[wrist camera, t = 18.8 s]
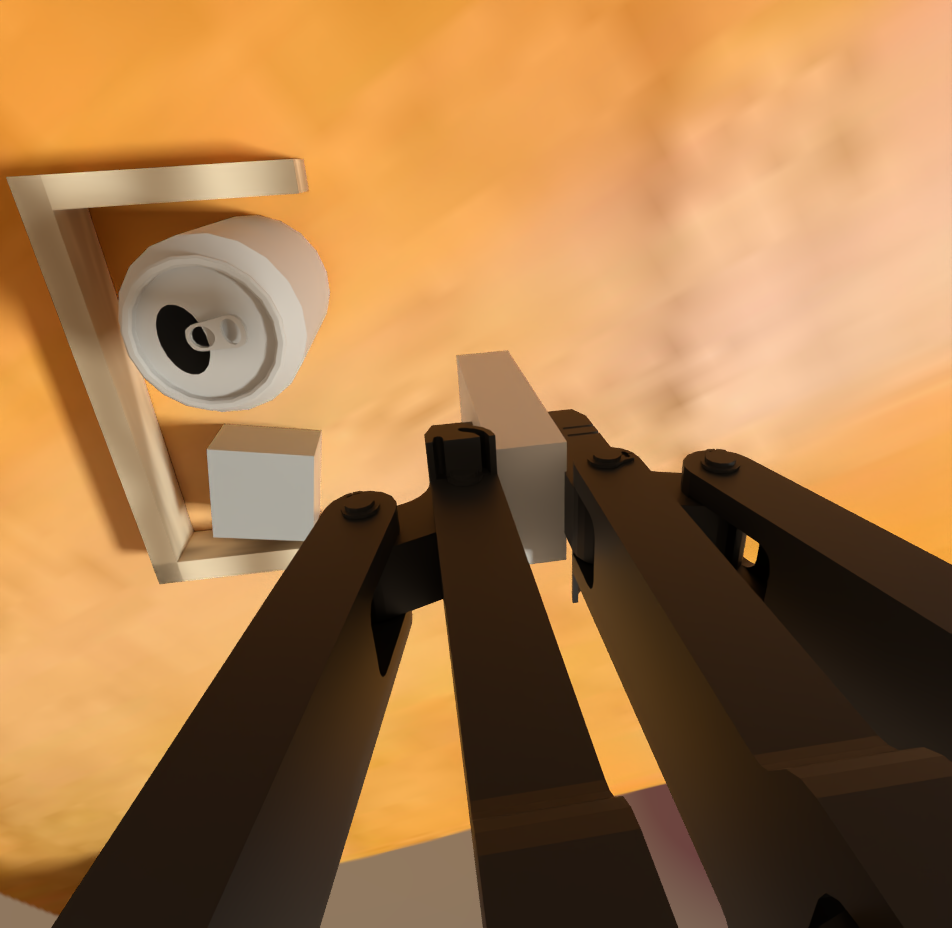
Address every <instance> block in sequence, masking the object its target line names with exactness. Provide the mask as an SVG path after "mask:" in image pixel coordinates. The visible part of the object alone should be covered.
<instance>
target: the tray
mask: <svg viewBox="0 0 952 928" xmlns="http://www.w3.org/2000/svg"><path fill="white" fill-rule="evenodd" d="M6 179H7V181H8V184H9V187H10V189H11V192H12V195H13V197H14V200H15V202H16V205H17V208H18V210H19V213H20V216H21V218H22V221H23V224H24V226H25V229H26V232H27V234H28V237H29V240H30V242H31V245H32V247H33V250H34V253H35V255H36V258H37V261H38V263H39V266H40V269H41V271H42V274H43V277H44V279H45V282H46V285H47V287H48V290H49V293H50V295H51V298H52V300H53V303H54V306H55V308H56V311H57V314H58V316H59V319H60V322H61V324H62V327H63V330H64V332H65V335H66V338H67V340H68V343H69V346H70V348H71V351H72V353H73V356H74V359H75V361H76V364H77V367H78V369H79V372H80V375H81V377H82V380H83V383H84V385H85V388H86V391H87V393H88V396H89V399H90V401H91V404H92V406H93V409H94V412H95V414H96V417H97V420H98V422H99V425H100V428H101V430H102V433H103V436H104V438H105V441H106V444H107V446H108V449H109V451H110V454H111V457H112V459H113V462H114V465H115V467H116V470H117V473H118V475H119V478H120V481H121V483H122V486H123V489H124V491H125V494H126V497H127V499H128V502H129V504H130V507H131V510H132V512H133V515H134V518H135V520H136V523H137V526H138V528H139V531H140V534H141V536H142V539H143V542H144V544H145V547H146V550H147V552H148V555H149V557H150V560H151V563H152V565H153V568H154V571H155V573H156V576H157V579H158V581H159V584H165V583H174V582H182V581H191V580H200V579H209V578H217V577H226V576H235V575H244V574H252V573H261V572H270V571H278V570H285V569H286V568H287V566H288V565H289V563H290V562H291V560H292V559H293V557H294V556H295V554H296V553H297V551H298V550H299V548H300V547H301V545H302V543H303V542H304V541H290V540H266V539H242V538H217V537H213V530H207V531H197V532H194V530H193V527H192V524H191V521H190V518H189V515H188V512H187V509H186V506H185V503H184V500H183V497H182V494H181V491H180V488H179V485H178V481H177V478H176V475H175V472H174V469H173V466H172V463H171V460H170V457H169V454H168V451H167V448H166V445H165V442H164V439H163V436H162V433H161V430H160V427H159V423H158V420H157V417H156V414H155V411H154V408H153V405H152V402H151V399H150V396H149V393H148V390H147V387H146V384H145V381H144V378H143V376H142V375H141V373H140V372H139V371H138V369H137V368H136V366H135V365H134V363H133V362H132V360H131V359H130V358H129V356H128V354H127V351H126V347H125V344H124V341H123V338H122V335H121V332H120V325H119V322H118V312H119V301H118V298H117V295H116V292H115V289H114V286H113V283H112V280H111V277H110V274H109V271H108V268H107V265H106V262H105V259H104V256H103V253H102V250H101V247H100V243H99V240H98V237H97V234H96V231H95V228H94V225H93V222H92V219H91V216H90V213H89V210H88V208H91V207H106V206H121V205H135V204H150V203H165V202H180V201H194V200H209V199H224V198H238V197H253V196H268V195H282V194H297V193H302V192H305V191H309V189H308V183H307V177H306V171H305V165H304V159H283V160H267V161H251V162H236V163H220V164H204V165H188V166H173V167H157V168H141V169H126V170H110V171H94V172H78V173H63V174H47V175H31V176H16V177H6Z"/></svg>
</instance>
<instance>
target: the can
mask: <svg viewBox="0 0 952 928" xmlns="http://www.w3.org/2000/svg"><path fill="white" fill-rule="evenodd" d="M329 296H330V290H329V283H328V277H327V271H326V269H325V267H324V265H323V263H322V261H321V259H320V257H319V255H318V253H317V251H316V250H315V249H314V248H313V246H312V245H311V244H310V243H309V242H308V241H307V240H306V239H305V238H304V237H303V235H302V234H301V233H299V232H297V231H296V230H294V229H293V228H291V227H289V226H288V225H286V224H285V223H283V222H281V221H279V220H275V219H271V218H267V217H264V216H260V215H249V216H235V217H231V218H228V219H225V220H222V221H219V222H216V223H213V224H209V225H206V226H203V227H200V228H197V229H194V230H190V231H187V232H184V233H181V234H178V235H175V236H173V237H170V238H168V239H166V240H163V241H161V242H159V243H157V244H154V245H152V246H150V247H148V248H147V249H146V250H145V251H144V252H143V253H142V254H141V255H140V256H139V257H138V258H137V259H136V260H135V261H134V263H133V264H132V265H131V266H130V267H129V269H128V271H127V274H126V276H125V279H124V281H123V283H122V286H121V288H120V291H119V312H118V322H119V325H120V332H121V335H122V338H123V341H124V344H125V347H126V351H127V354H128V356H129V358H130V359H131V360H132V362H133V363H134V365H135V366H136V368H137V369H138V371H139V372H140V373H141V375H142V376H143V378H145V379H146V380H147V381H148V382H149V383H151V384H152V385H153V386H154V387H155V388H156V389H158V390H159V391H160V392H161V393H162V394H164V395H166V396H168V397H170V398H172V399H174V400H176V401H178V402H180V403H182V404H184V405H186V406H191V407H196V408H201V409H206V410H211V411H213V410H215V411H220V412H226V411H238V410H249V409H251V408H254V407H256V406H259V405H261V404H264V403H266V402H268V401H271V400H273V399H274V398H275V397H276V396H277V395H279V394H280V393H281V392H282V391H283V390H284V389H285V388H287V387H288V386H289V385H290V384H291V383H292V381H293V379H294V377H295V376H296V374H297V372H298V370H299V368H300V366H301V365H302V363H303V361H304V359H305V357H306V355H307V353H308V351H309V349H310V347H311V344H312V342H313V340H314V338H315V336H316V334H317V332H318V330H319V328H320V326H321V324H322V322H323V320H324V318H325V316H326V314H327V309H328V303H329Z"/></svg>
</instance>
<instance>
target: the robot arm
mask: <svg viewBox="0 0 952 928" xmlns="http://www.w3.org/2000/svg"><path fill="white" fill-rule="evenodd" d="M456 357H457V370H458V382H459V395H460V407H461V420H462V423H452V424H443V425H433V426H431V427H430V429H429V430H428V431H427V432H426V433H425V435H424V436H425V445H426V454H427V463H428V472H429V481H430V484H429V487H428V489H427V491H426V492H425V493H423V494H422V495H421V496H420V497H418V498H416V499H414V500H412V501H410V502H407V503H404V504H401V505H398V506H397V503H396V501H395V500H394V498H393V497H392V496H390V495H388V494H385V493H383V492H375V491H364V492H362V491H357V492H353V493H349V494H346V495H344V496H342V497H340V498H339V499H337V500H335V501H333V502H332V503H331V504H330V505H329V506H327V507H326V508H325V510H324V511H323V513H322V514H321V516H320V517H319V519H318V521H317V522H316V524H315V525H314V527H313V528H312V530H311V531H310V533H309V534H308V536H307V537H306V539H305V540H304V542H303V543H302V545H301V547H300V548H299V550H298V551H297V553H296V554H295V556H294V557H293V559H292V560H291V562H290V563H289V565H288V566H287V568H286V569H285V571H284V573H283V574H282V576H281V577H280V579H279V580H278V582H277V583H276V585H275V586H274V588H273V589H272V591H271V592H270V594H269V595H268V597H267V599H266V600H265V602H264V603H263V605H262V606H261V608H260V609H259V611H258V612H257V614H256V615H255V617H254V618H253V620H252V621H251V623H250V625H249V626H248V628H247V629H246V631H245V632H244V634H243V635H242V637H241V638H240V640H239V641H238V643H237V644H236V646H235V647H234V649H233V651H232V652H231V654H230V655H229V657H228V658H227V660H226V661H225V663H224V664H223V666H222V667H221V669H220V670H219V672H218V673H217V675H216V677H215V678H214V680H213V681H212V683H211V684H210V686H209V687H208V689H207V690H206V692H205V693H204V695H203V696H202V698H201V699H200V701H199V703H198V704H197V706H196V707H195V709H194V710H193V712H192V713H191V715H190V716H189V718H188V719H187V721H186V722H185V724H184V725H183V727H182V729H181V730H180V732H179V733H178V735H177V736H176V738H175V739H174V741H173V742H172V744H171V745H170V747H169V748H168V750H167V751H166V753H165V755H164V756H163V758H162V759H161V761H160V762H159V764H158V765H157V767H156V768H155V770H154V771H153V773H152V774H151V776H150V777H149V779H148V781H147V782H146V784H145V785H144V787H143V788H142V790H141V791H140V793H139V794H138V796H137V797H136V799H135V800H134V802H133V803H132V805H131V807H130V808H129V810H128V811H127V813H126V814H125V816H124V817H123V819H122V820H121V822H120V823H119V825H118V826H117V828H116V829H115V831H114V833H113V834H112V836H111V837H110V839H109V840H108V842H107V843H106V845H105V846H104V848H103V849H102V851H101V852H100V854H99V855H98V857H97V859H96V860H95V862H94V863H93V865H92V866H91V868H90V869H89V871H88V872H87V874H86V875H85V877H84V878H83V880H82V881H81V883H80V885H79V886H78V888H77V889H76V891H75V892H74V894H73V895H72V897H71V898H70V900H69V901H68V903H67V904H66V906H65V907H64V909H63V911H62V912H61V914H60V915H59V917H58V918H57V920H56V921H55V923H54V924H53V926H52V928H320V925H321V922H322V918H323V915H324V912H325V908H326V905H327V902H328V899H329V895H330V892H331V889H332V885H333V882H334V879H335V876H336V872H337V869H338V866H339V862H340V859H341V856H342V852H343V849H344V846H345V843H346V839H347V836H348V833H349V829H350V826H351V823H352V819H353V816H354V813H355V810H356V806H357V803H358V800H359V796H360V793H361V790H362V786H363V783H364V780H365V777H366V773H367V770H368V767H369V763H370V760H371V757H372V753H373V750H374V747H375V744H376V740H377V737H378V734H379V730H380V727H381V724H382V720H383V717H384V714H385V711H386V707H387V704H388V701H389V697H390V694H391V691H392V687H393V684H394V681H395V678H396V674H397V671H398V668H399V664H400V661H401V658H402V654H403V651H404V648H405V645H406V641H407V638H408V635H409V631H410V628H411V625H412V610H415V609H417V608H420V607H423V606H425V605H428V604H431V603H433V602H436V601H439V600H441V599H443V602H444V610H445V618H446V626H447V635H448V643H449V651H450V659H451V668H452V676H453V684H454V692H455V701H456V709H457V717H458V726H459V734H460V742H461V750H462V759H463V767H464V775H465V783H466V792H467V800H468V808H469V816H470V825H471V833H472V841H473V849H474V857H475V866H476V874H477V882H478V890H479V899H480V907H481V915H482V924H483V928H678V925H677V923H676V920H675V918H674V915H673V912H672V910H671V907H670V904H669V902H668V900H667V897H666V894H665V892H664V889H663V886H662V883H661V881H660V878H659V876H658V873H657V870H656V868H655V865H654V862H653V860H652V857H651V854H650V852H649V849H648V847H647V844H646V842H645V839H644V836H643V833H642V831H641V829H640V826H639V824H638V822H637V819H636V817H635V815H634V813H633V810H632V808H631V806H630V805H629V804H628V802H627V801H626V800H625V798H624V797H623V796H618V797H614V796H613V794H612V793H611V792H610V790H609V787H608V785H607V783H606V780H605V778H604V775H603V772H602V769H601V766H600V763H599V761H598V758H597V755H596V752H595V749H594V746H593V744H592V741H591V738H590V735H589V732H588V729H587V727H586V724H585V721H584V718H583V715H582V712H581V709H580V707H579V704H578V701H577V698H576V695H575V692H574V690H573V687H572V684H571V681H570V678H569V675H568V673H567V670H566V667H565V664H564V661H563V658H562V656H561V653H560V650H559V647H558V644H557V641H556V639H555V636H554V633H553V630H552V627H551V624H550V622H549V619H548V616H547V613H546V610H545V607H544V604H543V602H542V599H541V596H540V593H539V590H538V587H537V585H536V582H535V579H534V576H533V573H532V570H531V568H530V565H529V564H535V563H543V562H551V561H559V560H566V537H567V539H568V542H569V544H570V546H571V548H572V602H573V603H577V602H578V594H579V592H580V591H581V592H582V594H583V597H584V599H585V601H586V603H587V606H588V608H589V610H590V612H591V615H592V617H593V619H594V621H595V624H596V626H597V628H598V630H599V633H600V635H601V637H602V639H603V642H604V644H605V646H606V648H607V651H608V653H609V655H610V657H611V660H612V662H613V664H614V666H615V669H616V671H617V673H618V675H619V678H620V680H621V682H622V684H623V687H624V689H625V691H626V693H627V696H628V698H629V700H630V703H631V705H632V707H633V709H634V712H635V714H636V716H637V718H638V721H639V723H640V725H641V727H642V730H643V732H644V734H645V736H646V739H647V741H648V743H649V745H650V748H651V750H652V752H653V754H654V757H655V759H656V761H657V763H658V766H659V768H660V770H661V772H662V775H663V777H664V779H665V781H666V784H667V786H668V788H669V790H670V793H671V795H672V797H673V799H674V802H675V804H676V806H677V808H678V811H679V813H680V815H681V817H682V820H683V822H684V824H685V826H686V828H687V831H688V833H689V835H690V838H691V840H692V842H693V844H694V846H695V849H696V851H697V853H698V855H699V858H700V860H701V862H702V865H703V866H704V869H705V871H706V874H707V876H708V878H709V880H710V883H711V885H712V887H713V889H714V891H715V894H716V896H717V898H718V901H719V903H720V905H721V907H722V910H723V913H724V915H725V918H726V921H727V925H728V928H952V565H951V564H949V563H947V562H945V561H944V560H942V559H940V558H938V557H936V556H934V555H932V554H930V553H928V552H926V551H924V550H923V549H921V548H919V547H917V546H915V545H913V544H911V543H909V542H907V541H905V540H904V539H902V538H900V537H898V536H896V535H894V534H892V533H890V532H888V531H886V530H884V529H883V528H881V527H879V526H877V525H875V524H873V523H871V522H869V521H867V520H865V519H863V518H862V517H860V516H858V515H856V514H854V513H852V512H850V511H848V510H846V509H844V508H843V507H841V506H839V505H837V504H835V503H833V502H831V501H829V500H827V499H825V498H823V497H822V496H820V495H818V494H816V493H814V492H812V491H810V490H808V489H806V488H804V487H802V486H801V485H799V484H797V483H795V482H793V481H791V480H789V479H787V478H785V477H783V476H781V475H780V474H778V473H776V472H774V471H772V470H770V469H768V468H766V467H764V466H762V465H761V464H759V463H757V462H755V461H753V460H751V459H749V458H747V457H745V456H742V455H739V454H737V453H733V452H727V451H726V450H722V449H716V450H715V449H707V450H705V451H697V452H694V453H692V454H689V455H687V456H686V458H685V459H684V460H683V467H682V473H671V472H655V471H650V469H649V468H648V467H647V466H646V465H645V464H644V462H643V461H642V460H641V459H640V458H639V457H638V456H637V455H635V454H634V453H633V452H630V451H628V450H624V449H621V448H614V447H610V446H609V444H608V443H607V442H606V441H605V439H604V438H603V437H602V435H601V434H600V433H598V430H597V429H596V428H595V427H594V426H593V424H592V423H591V422H590V420H589V419H588V418H587V417H586V416H585V415H583V414H581V413H579V412H577V411H575V410H572V409H569V410H560V411H550V412H547V410H546V409H545V407H544V406H543V404H542V403H541V401H540V399H539V398H538V396H537V395H536V393H535V392H534V390H533V389H532V387H531V386H530V384H529V382H528V381H527V379H526V378H525V376H524V375H523V373H522V372H521V370H520V369H519V367H518V365H517V364H516V362H515V361H514V359H513V358H512V356H511V355H510V353H509V351H508V350H507V351H497V352H487V353H476V354H466V355H456ZM746 535H748V536H749V537H751V538H752V539H754V540H755V541H757V542H758V543H759V550H758V555H757V560H756V562H755V564H754V563H751V562H750V561H748V560H747V559H745V558H744V557H743V553H744V547H745V541H746Z"/></svg>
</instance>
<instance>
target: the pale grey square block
mask: <svg viewBox="0 0 952 928" xmlns="http://www.w3.org/2000/svg"><path fill="white" fill-rule="evenodd" d="M321 445H322V431H319V430H305V429H291V428H277V427H263V426H249V425H234V424H223V426H222V427H221V429H220V430H219V432H218V433H217V435H216V436H215V438H214V439H213V441H212V442H211V444H210V445H209V447H208V448H207V462H208V475H209V488H210V501H211V514H212V527H213V537H217V538H242V539H266V540H290V541H304V540H305V539H306V537H307V536H308V534H309V533H310V531H311V530H312V528H313V527H314V525H315V524H316V522H317V521H318V519H319V515H320V507H321Z"/></svg>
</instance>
